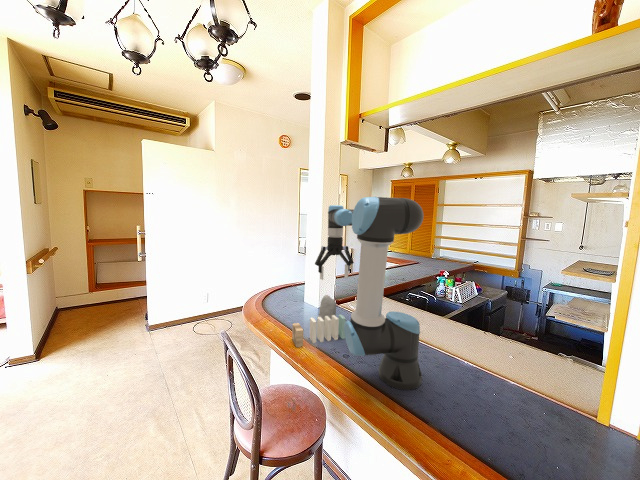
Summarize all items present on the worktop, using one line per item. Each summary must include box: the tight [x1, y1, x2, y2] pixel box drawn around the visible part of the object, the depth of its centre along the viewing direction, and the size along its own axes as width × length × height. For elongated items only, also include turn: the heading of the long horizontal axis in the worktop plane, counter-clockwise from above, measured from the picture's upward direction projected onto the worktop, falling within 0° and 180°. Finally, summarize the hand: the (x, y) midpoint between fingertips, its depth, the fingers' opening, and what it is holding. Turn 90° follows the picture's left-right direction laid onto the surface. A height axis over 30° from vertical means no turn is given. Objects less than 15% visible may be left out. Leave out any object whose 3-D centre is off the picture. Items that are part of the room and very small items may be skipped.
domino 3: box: [324, 316, 332, 342], centre depth 125 cm, size 5×2×10 cm, turn 19°
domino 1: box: [309, 317, 317, 344], centre depth 123 cm, size 5×2×10 cm, turn 19°
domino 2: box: [316, 316, 325, 343], centre depth 124 cm, size 5×2×10 cm, turn 19°
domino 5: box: [337, 314, 347, 340], centre depth 128 cm, size 5×2×10 cm, turn 19°
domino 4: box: [331, 315, 339, 341], centre depth 126 cm, size 5×2×10 cm, turn 19°
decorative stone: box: [318, 294, 337, 320], centre depth 141 cm, size 11×6×15 cm, turn 41°
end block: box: [291, 322, 304, 348], centre depth 121 cm, size 8×3×8 cm, turn 19°
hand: (334, 278), depth 135 cm, fingers open, 13 cm apart
